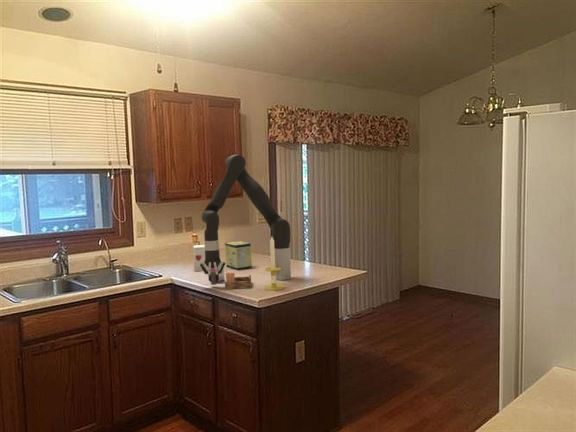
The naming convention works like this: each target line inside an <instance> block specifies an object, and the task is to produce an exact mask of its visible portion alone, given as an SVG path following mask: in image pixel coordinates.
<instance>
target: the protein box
mask: <svg viewBox="0 0 576 432" xmlns="http://www.w3.org/2000/svg"><path fill="white" fill-rule="evenodd" d="M224 246H225V266H226V268H229V269H231V270H233V271H242V270H247V269H252V268H253V264H252V263H253V262H252V248H251V247H252V245H251V243H250V242H245V241H231V242H225V245H224Z"/></svg>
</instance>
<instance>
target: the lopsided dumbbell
mask: <svg viewBox="0 0 576 432" xmlns="http://www.w3.org/2000/svg"><path fill="white" fill-rule="evenodd" d="M235 277H236V276H235V270H228V271H226V272H225V282H235ZM225 282H223V281H221V282H216V272H211V282H210V285H214V286H216V285H222V284H223V285H225Z"/></svg>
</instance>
